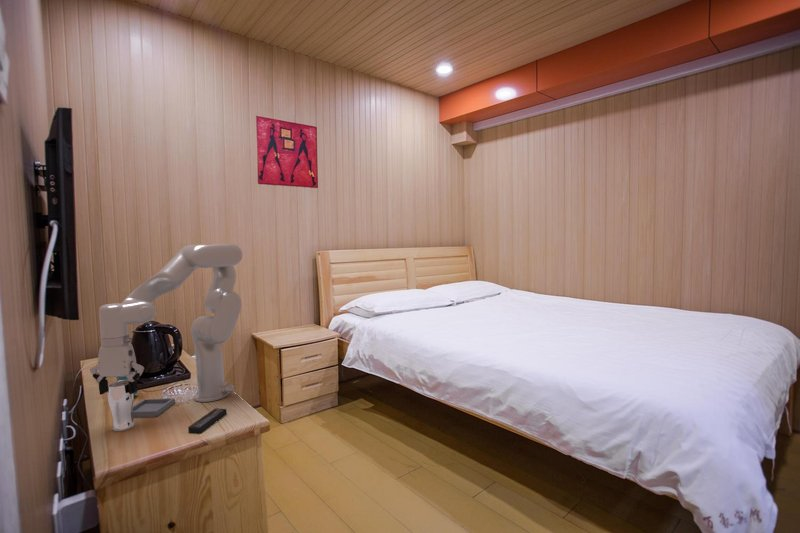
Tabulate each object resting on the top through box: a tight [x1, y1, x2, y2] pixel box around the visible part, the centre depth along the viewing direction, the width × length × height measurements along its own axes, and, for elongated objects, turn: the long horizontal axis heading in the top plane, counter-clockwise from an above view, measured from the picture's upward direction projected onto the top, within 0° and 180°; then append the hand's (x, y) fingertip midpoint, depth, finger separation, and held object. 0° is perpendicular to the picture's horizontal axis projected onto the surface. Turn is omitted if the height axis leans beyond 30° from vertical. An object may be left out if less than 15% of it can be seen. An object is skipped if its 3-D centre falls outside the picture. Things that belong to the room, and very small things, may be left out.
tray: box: [132, 397, 176, 419], centre depth 153 cm, size 12×12×2 cm
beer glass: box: [107, 380, 135, 432], centre depth 139 cm, size 7×7×15 cm
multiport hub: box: [187, 407, 228, 435], centre depth 141 cm, size 4×14×2 cm, turn 169°
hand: (118, 392), depth 138 cm, fingers open, 9 cm apart
